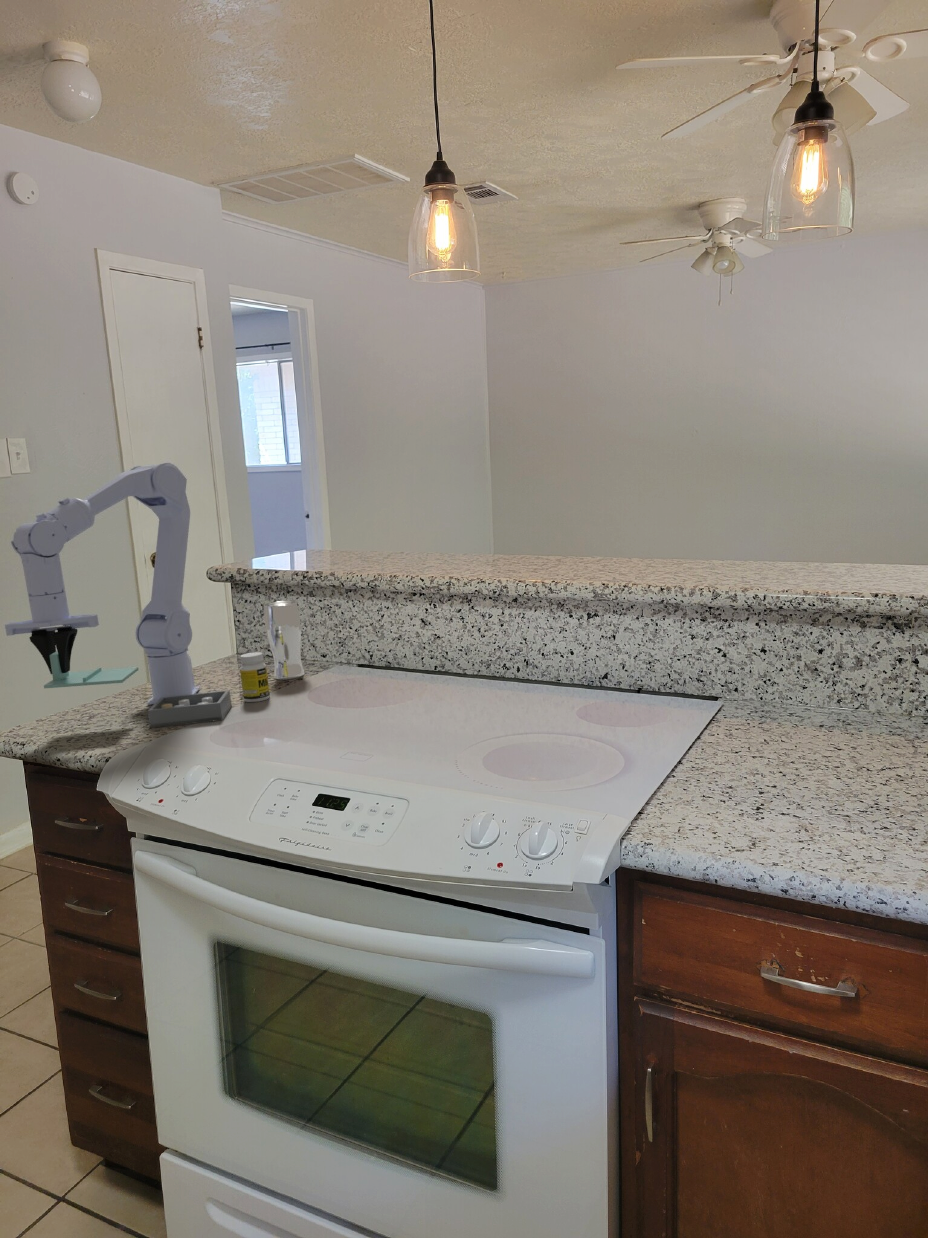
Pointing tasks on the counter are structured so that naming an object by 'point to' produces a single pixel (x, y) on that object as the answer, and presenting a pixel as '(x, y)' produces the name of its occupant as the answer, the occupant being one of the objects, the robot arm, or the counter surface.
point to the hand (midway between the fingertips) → (60, 672)
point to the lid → (86, 675)
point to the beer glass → (284, 638)
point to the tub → (189, 709)
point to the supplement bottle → (254, 677)
